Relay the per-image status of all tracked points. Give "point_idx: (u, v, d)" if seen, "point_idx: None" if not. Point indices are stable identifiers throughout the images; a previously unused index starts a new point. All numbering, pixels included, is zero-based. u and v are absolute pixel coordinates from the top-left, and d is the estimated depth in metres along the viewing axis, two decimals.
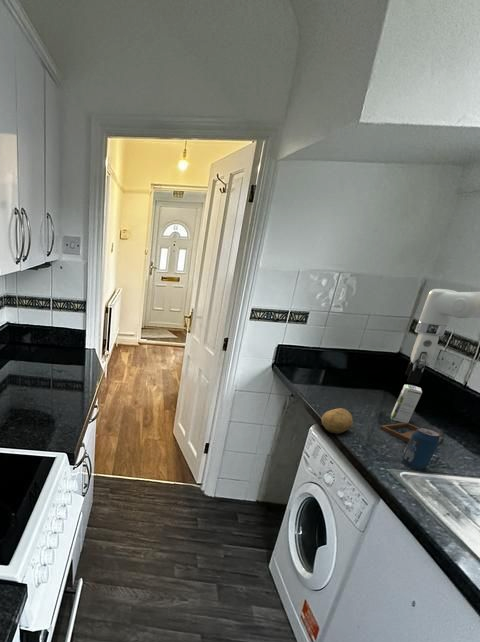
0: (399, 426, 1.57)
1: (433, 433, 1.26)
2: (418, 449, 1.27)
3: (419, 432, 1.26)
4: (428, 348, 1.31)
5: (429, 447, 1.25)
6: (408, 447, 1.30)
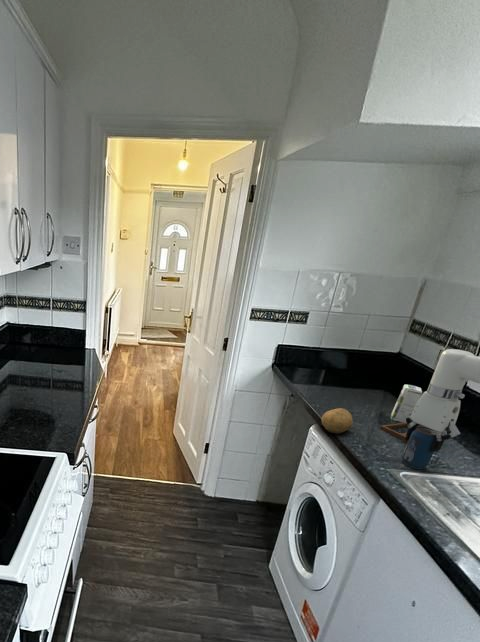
0: (399, 426, 1.57)
1: (432, 432, 1.27)
2: (417, 448, 1.27)
3: (418, 431, 1.27)
4: (455, 415, 1.20)
5: (429, 446, 1.25)
6: (407, 447, 1.30)
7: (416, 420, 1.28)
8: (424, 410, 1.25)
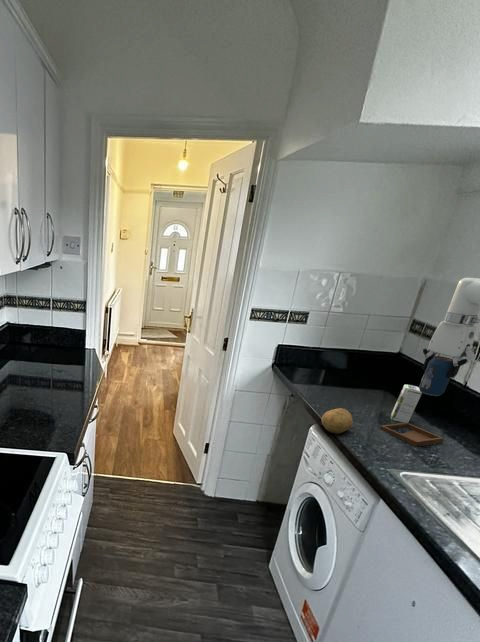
0: (399, 426, 1.57)
1: (448, 360, 1.35)
2: (434, 375, 1.35)
3: (435, 359, 1.34)
4: (471, 340, 1.28)
5: (446, 372, 1.33)
6: (425, 375, 1.38)
7: (433, 349, 1.35)
8: (441, 338, 1.33)
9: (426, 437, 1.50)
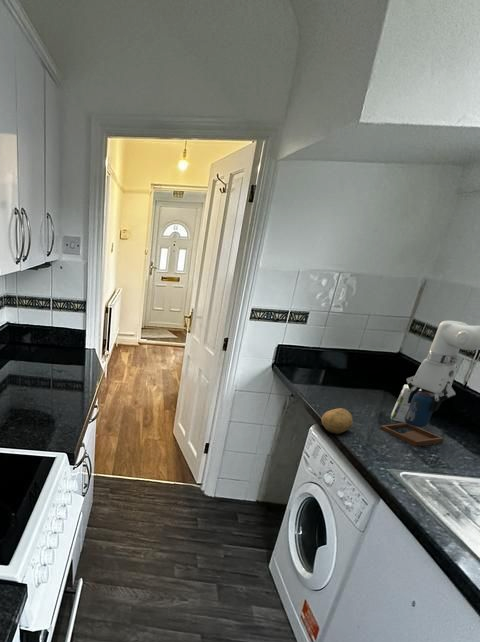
0: (399, 426, 1.57)
1: (431, 395, 1.45)
2: (418, 409, 1.45)
3: (419, 394, 1.45)
4: (451, 377, 1.38)
5: (428, 407, 1.43)
6: (409, 408, 1.48)
7: (417, 384, 1.45)
8: (424, 375, 1.43)
9: (426, 437, 1.50)
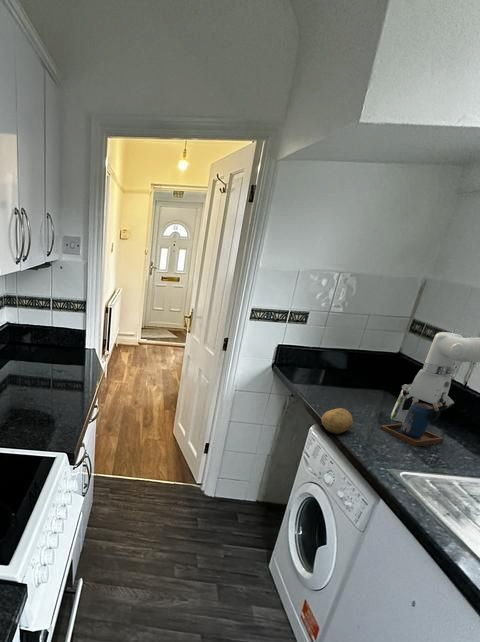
0: (399, 426, 1.57)
1: (427, 407, 1.46)
2: (414, 420, 1.46)
3: (415, 406, 1.46)
4: (447, 388, 1.39)
5: (424, 419, 1.45)
6: (406, 419, 1.49)
7: (413, 394, 1.47)
8: (420, 385, 1.44)
9: (426, 437, 1.50)
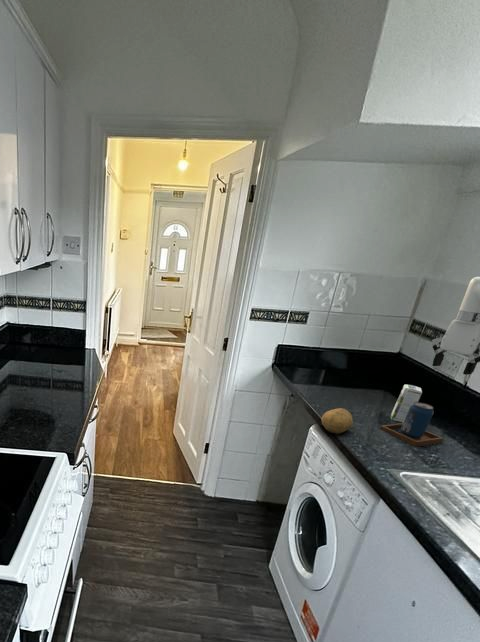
0: (399, 426, 1.57)
1: (427, 407, 1.46)
2: (414, 420, 1.46)
3: (415, 406, 1.46)
4: None
5: (424, 419, 1.45)
6: (406, 419, 1.49)
7: (445, 347, 1.37)
8: (453, 337, 1.34)
9: (426, 437, 1.50)
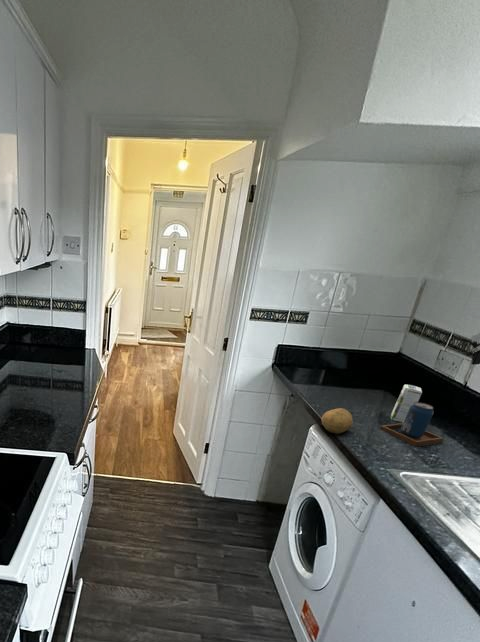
0: (399, 426, 1.57)
1: (427, 407, 1.46)
2: (414, 420, 1.46)
3: (415, 406, 1.46)
4: None
5: (424, 419, 1.45)
6: (406, 419, 1.49)
7: None
8: None
9: (426, 437, 1.50)
